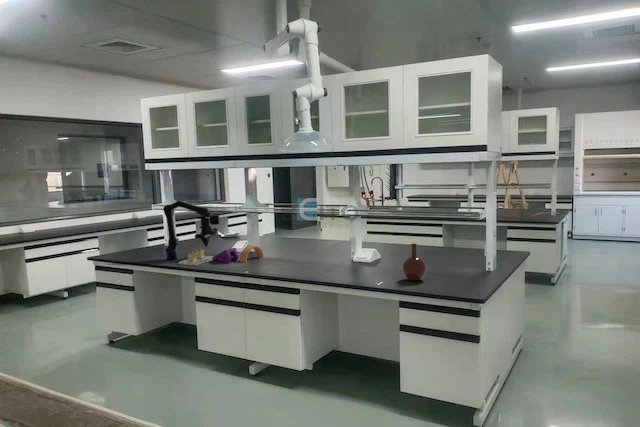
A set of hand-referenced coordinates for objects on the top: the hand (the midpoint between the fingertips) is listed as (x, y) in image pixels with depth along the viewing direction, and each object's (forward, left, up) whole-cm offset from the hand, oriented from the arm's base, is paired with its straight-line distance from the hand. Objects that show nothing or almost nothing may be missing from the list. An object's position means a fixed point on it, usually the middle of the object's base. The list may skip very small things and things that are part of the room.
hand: (206, 246), depth 341 cm
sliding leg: (0, -8, -7) cm, 10 cm away
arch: (+35, +2, -9) cm, 37 cm away
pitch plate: (0, -11, -9) cm, 14 cm away
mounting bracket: (+19, -7, -9) cm, 22 cm away
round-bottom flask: (+154, -31, -9) cm, 157 cm away
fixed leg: (0, -17, -7) cm, 19 cm away
